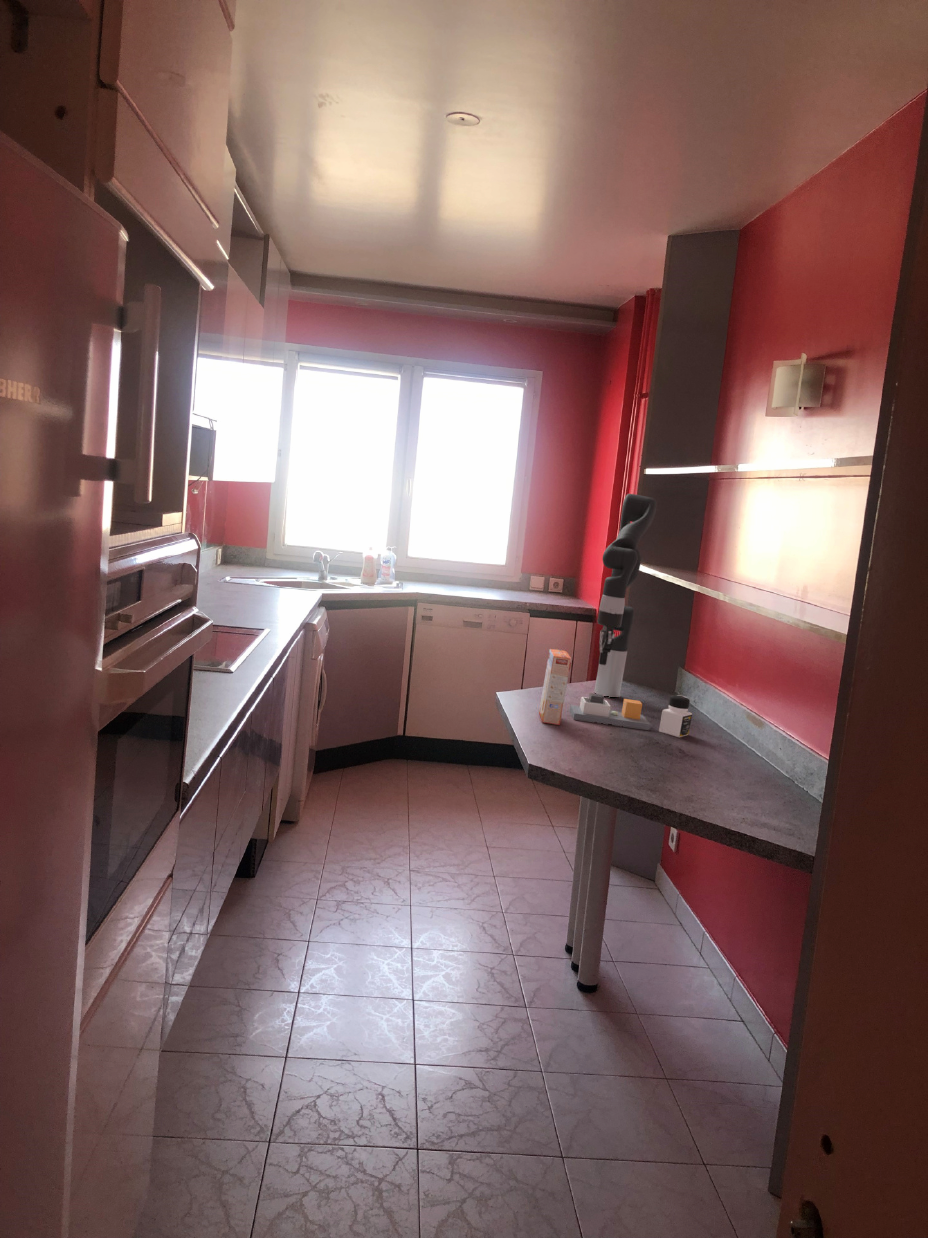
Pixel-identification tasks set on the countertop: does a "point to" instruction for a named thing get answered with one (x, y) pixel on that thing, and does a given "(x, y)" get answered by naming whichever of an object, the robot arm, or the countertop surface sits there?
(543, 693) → the cracker box
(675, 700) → the medicine bottle
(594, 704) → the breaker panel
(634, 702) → the orange cube
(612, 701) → the countertop surface
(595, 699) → the button
